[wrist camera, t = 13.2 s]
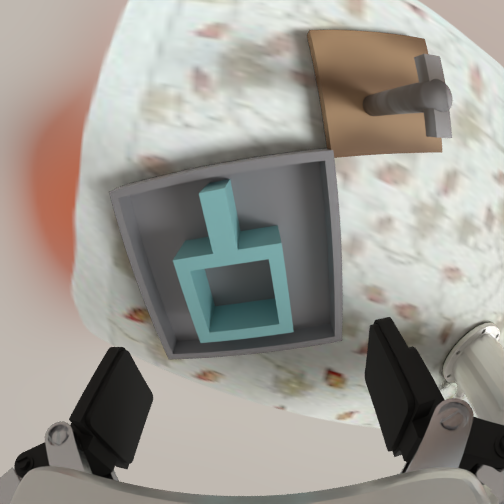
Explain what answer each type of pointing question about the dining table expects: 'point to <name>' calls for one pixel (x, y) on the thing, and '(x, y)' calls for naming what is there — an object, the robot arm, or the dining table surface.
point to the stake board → (362, 77)
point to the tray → (244, 274)
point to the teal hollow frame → (229, 253)
